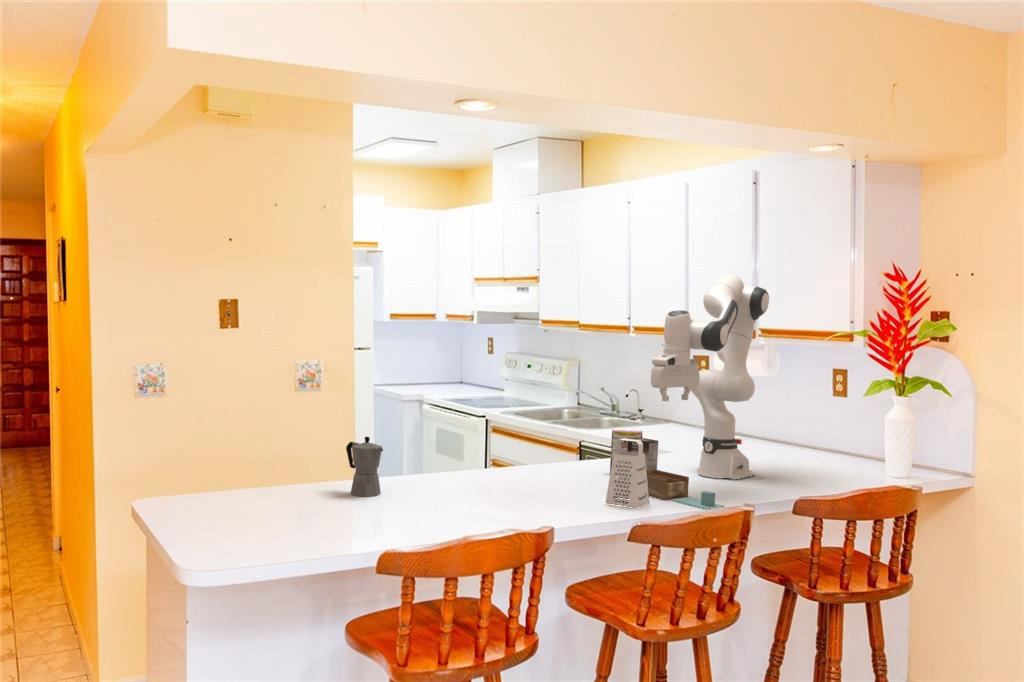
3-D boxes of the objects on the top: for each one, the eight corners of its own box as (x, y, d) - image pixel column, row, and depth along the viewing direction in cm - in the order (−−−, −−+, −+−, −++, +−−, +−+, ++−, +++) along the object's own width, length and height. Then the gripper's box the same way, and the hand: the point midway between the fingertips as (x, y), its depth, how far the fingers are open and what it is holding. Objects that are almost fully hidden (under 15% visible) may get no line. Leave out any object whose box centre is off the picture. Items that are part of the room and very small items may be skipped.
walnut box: (652, 487, 309) (653, 468, 309) (687, 496, 296) (688, 477, 296) (629, 490, 302) (629, 471, 302) (664, 500, 290) (665, 479, 289)
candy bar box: (609, 475, 330) (611, 430, 329) (609, 472, 335) (611, 428, 334) (640, 477, 329) (642, 431, 328) (640, 474, 334) (642, 430, 333)
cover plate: (689, 500, 294) (690, 484, 294) (724, 508, 282) (725, 493, 282) (671, 502, 289) (672, 487, 289) (706, 511, 277) (707, 495, 277)
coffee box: (624, 484, 313) (626, 438, 313) (635, 482, 318) (637, 436, 317) (646, 488, 307) (648, 441, 307) (657, 486, 312) (659, 440, 311)
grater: (636, 509, 275) (639, 443, 275) (605, 504, 280) (607, 440, 280) (649, 503, 284) (651, 439, 284) (618, 498, 290) (620, 436, 289)
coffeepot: (391, 494, 283) (393, 437, 283) (370, 499, 276) (371, 440, 275) (356, 487, 292) (357, 432, 292) (334, 492, 285) (336, 435, 284)
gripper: (690, 358, 311) (689, 398, 312) (648, 359, 299) (647, 400, 299) (704, 359, 306) (703, 400, 307) (662, 360, 294) (661, 403, 294)
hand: (675, 400), depth 303 cm, fingers open, 8 cm apart
